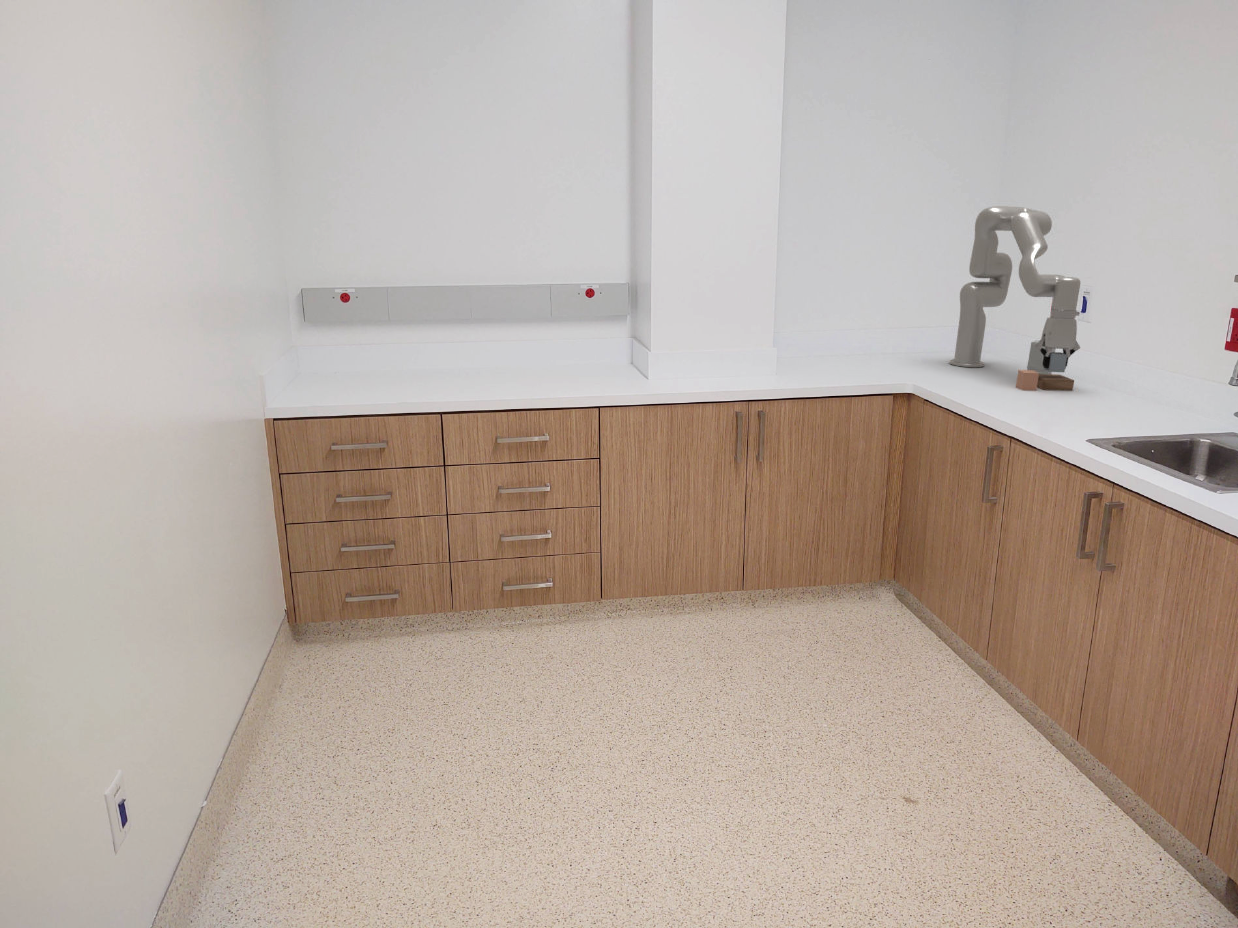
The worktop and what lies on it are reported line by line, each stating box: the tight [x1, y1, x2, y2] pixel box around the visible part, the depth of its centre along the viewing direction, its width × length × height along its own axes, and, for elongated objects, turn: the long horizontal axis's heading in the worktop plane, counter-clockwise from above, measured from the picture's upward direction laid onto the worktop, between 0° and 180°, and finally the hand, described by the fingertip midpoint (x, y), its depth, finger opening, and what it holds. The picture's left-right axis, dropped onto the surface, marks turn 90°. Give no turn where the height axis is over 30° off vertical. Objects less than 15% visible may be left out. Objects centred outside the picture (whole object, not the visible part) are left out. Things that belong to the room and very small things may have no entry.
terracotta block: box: [1015, 369, 1039, 391], centre depth 311 cm, size 5×5×6 cm
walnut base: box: [1037, 373, 1075, 392], centre depth 315 cm, size 10×10×4 cm
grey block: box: [1044, 351, 1067, 373], centre depth 313 cm, size 5×5×6 cm
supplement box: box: [1026, 340, 1057, 374], centre depth 334 cm, size 7×7×13 cm
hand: (1054, 367), depth 313 cm, fingers closed on grey block, 4 cm apart
